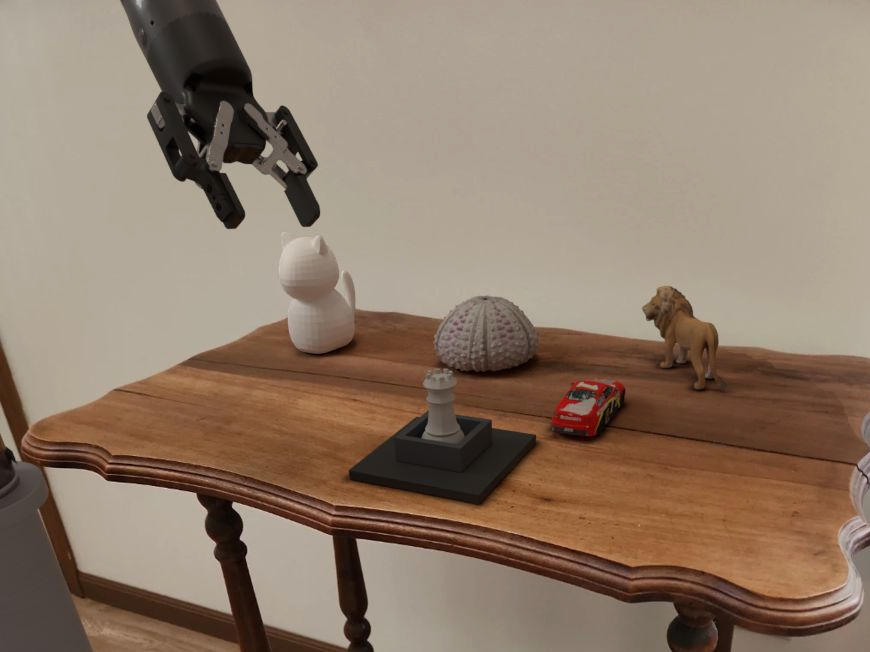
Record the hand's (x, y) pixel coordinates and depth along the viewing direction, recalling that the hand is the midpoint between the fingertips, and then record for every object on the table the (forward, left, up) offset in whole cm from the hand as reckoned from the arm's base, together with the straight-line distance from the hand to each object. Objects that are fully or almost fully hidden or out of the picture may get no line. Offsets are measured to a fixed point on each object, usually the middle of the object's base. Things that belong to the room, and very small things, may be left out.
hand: (276, 222), depth 69 cm
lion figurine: (+37, -28, -23) cm, 52 cm away
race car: (+20, -22, -23) cm, 38 cm away
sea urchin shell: (+33, -4, -23) cm, 41 cm away
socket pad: (+5, -12, -23) cm, 26 cm away
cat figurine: (+32, +20, -23) cm, 44 cm away
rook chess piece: (+5, -12, -22) cm, 25 cm away
